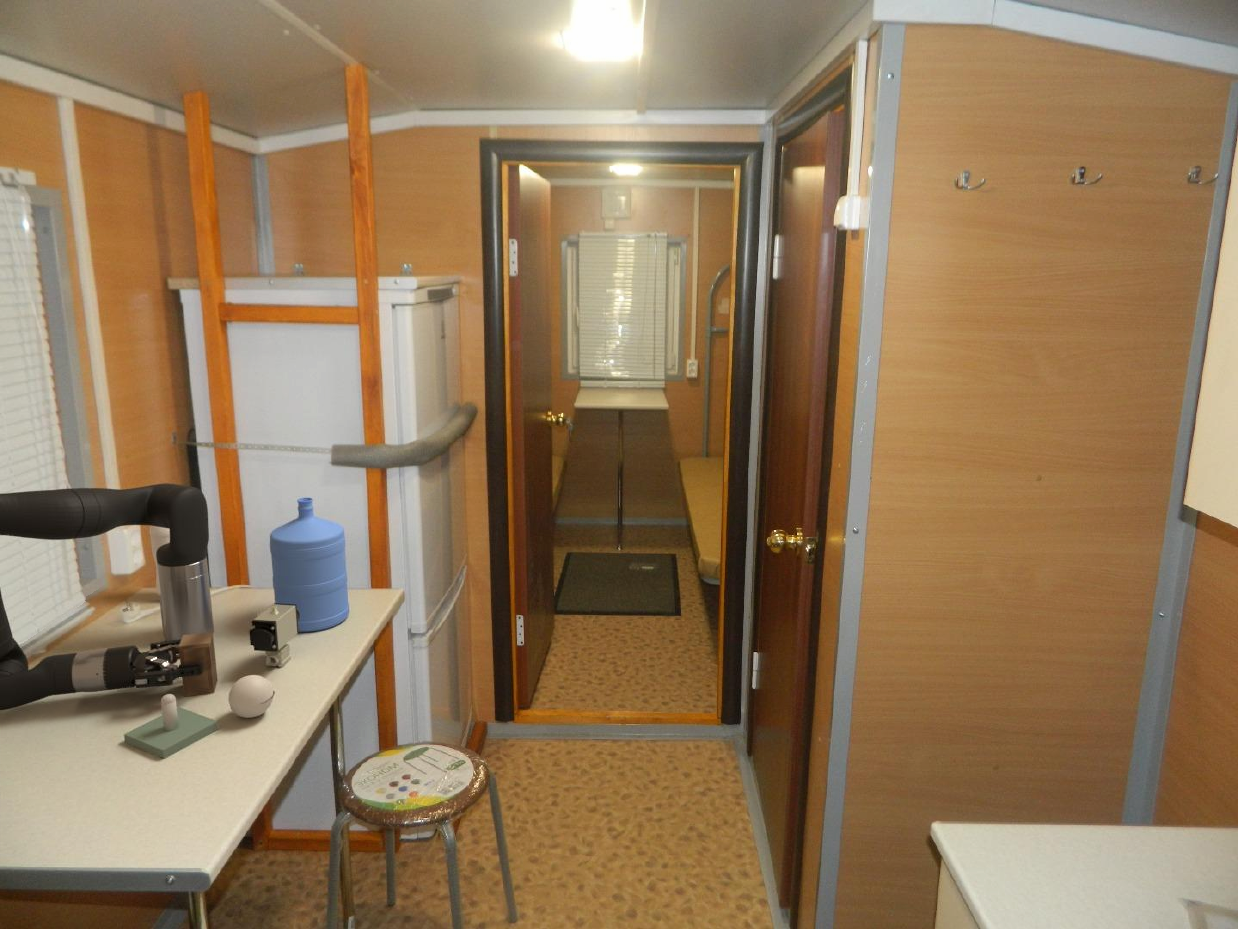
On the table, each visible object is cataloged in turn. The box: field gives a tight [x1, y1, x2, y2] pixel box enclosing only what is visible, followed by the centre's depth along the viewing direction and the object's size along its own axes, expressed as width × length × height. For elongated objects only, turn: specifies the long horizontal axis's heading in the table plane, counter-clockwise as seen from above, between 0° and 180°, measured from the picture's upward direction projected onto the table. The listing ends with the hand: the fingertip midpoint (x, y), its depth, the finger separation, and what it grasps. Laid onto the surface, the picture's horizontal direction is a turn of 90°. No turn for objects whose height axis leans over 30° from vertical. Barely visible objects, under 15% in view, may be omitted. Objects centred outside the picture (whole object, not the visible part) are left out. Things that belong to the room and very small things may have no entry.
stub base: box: [123, 693, 219, 759], centre depth 139 cm, size 10×10×8 cm
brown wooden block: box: [179, 632, 219, 697], centre depth 154 cm, size 5×5×10 cm
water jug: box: [269, 497, 350, 633], centre depth 183 cm, size 16×16×28 cm
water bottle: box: [148, 526, 170, 596], centre depth 194 cm, size 7×7×25 cm
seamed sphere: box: [227, 674, 275, 719], centre depth 147 cm, size 10×7×7 cm
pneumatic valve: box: [249, 602, 300, 668], centre depth 164 cm, size 6×12×12 cm, turn 174°
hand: (205, 658), depth 154 cm, fingers open, 8 cm apart
